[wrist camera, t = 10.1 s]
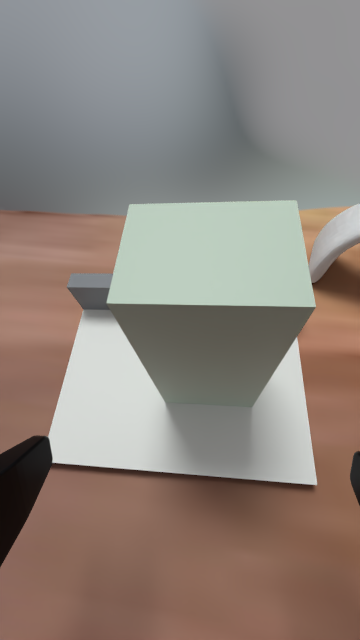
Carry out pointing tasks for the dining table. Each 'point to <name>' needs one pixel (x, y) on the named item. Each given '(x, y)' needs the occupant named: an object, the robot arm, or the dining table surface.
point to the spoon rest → (334, 241)
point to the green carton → (212, 295)
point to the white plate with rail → (170, 411)
